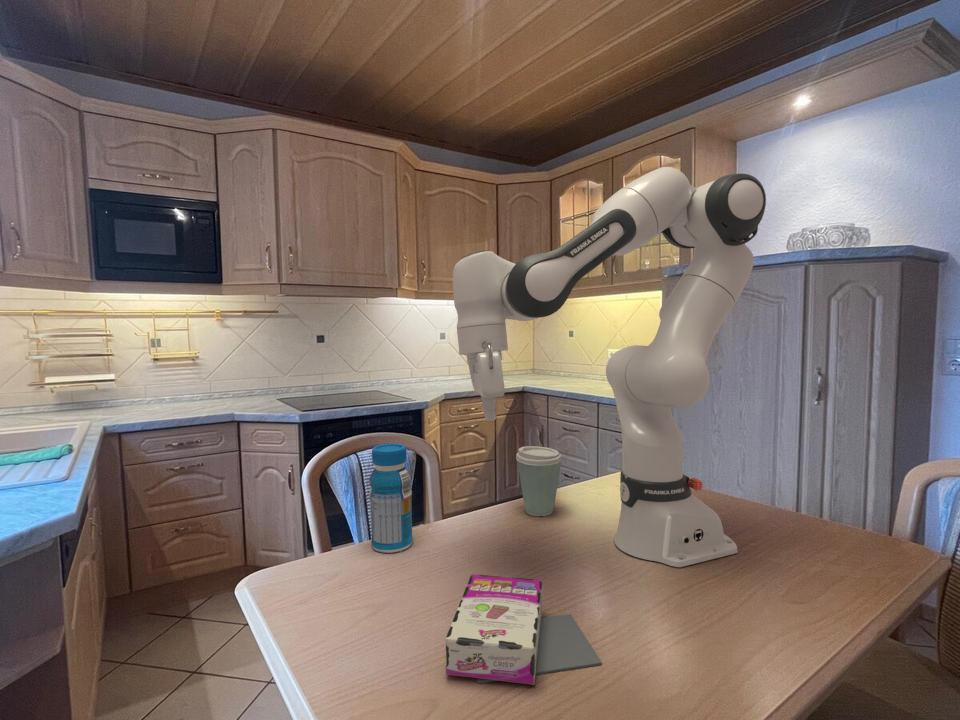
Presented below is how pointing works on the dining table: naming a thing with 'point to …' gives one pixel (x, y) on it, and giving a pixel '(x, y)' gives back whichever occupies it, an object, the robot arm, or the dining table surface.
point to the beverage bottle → (390, 499)
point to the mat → (561, 647)
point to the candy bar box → (496, 630)
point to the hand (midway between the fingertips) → (490, 419)
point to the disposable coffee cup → (539, 478)
